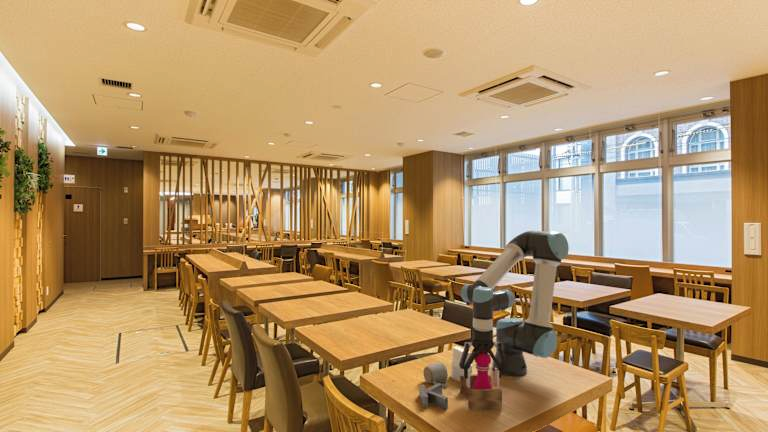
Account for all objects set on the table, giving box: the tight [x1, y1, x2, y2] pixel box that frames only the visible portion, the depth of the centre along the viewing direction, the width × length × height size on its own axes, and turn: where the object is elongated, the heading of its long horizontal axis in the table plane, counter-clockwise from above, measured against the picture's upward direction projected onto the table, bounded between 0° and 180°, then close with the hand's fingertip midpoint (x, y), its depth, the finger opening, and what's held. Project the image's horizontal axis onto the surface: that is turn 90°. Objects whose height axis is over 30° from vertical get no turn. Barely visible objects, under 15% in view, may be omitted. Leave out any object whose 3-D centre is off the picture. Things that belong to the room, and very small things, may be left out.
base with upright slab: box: [450, 346, 473, 382], centre depth 173 cm, size 9×9×12 cm
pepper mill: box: [473, 353, 493, 389], centre depth 151 cm, size 7×7×20 cm
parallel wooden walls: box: [459, 373, 503, 411], centre depth 151 cm, size 12×15×7 cm
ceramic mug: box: [423, 362, 449, 389], centre depth 166 cm, size 11×8×8 cm
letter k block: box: [418, 382, 449, 411], centre depth 151 cm, size 9×14×4 cm, turn 2°
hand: (482, 386), depth 151 cm, fingers open, 10 cm apart
